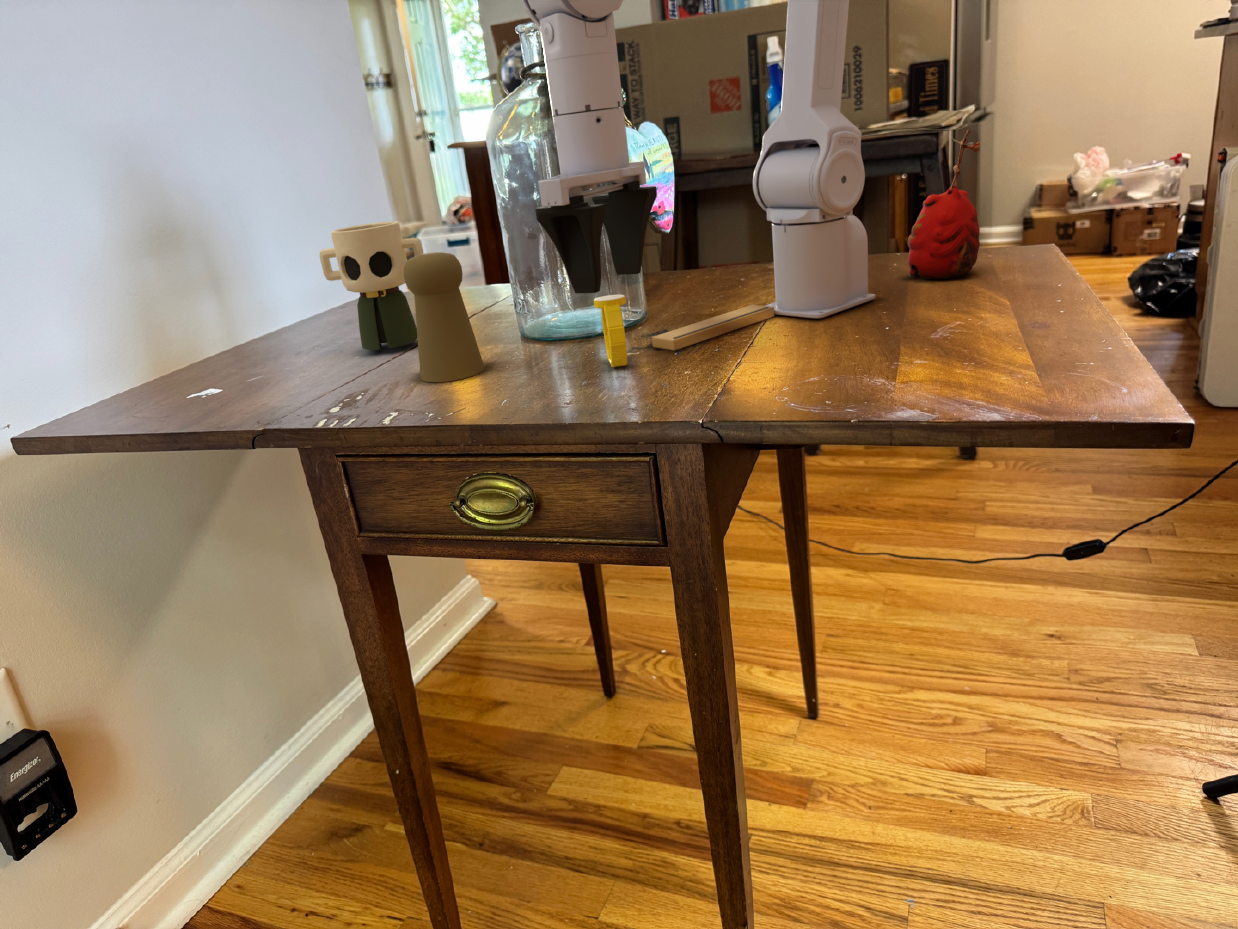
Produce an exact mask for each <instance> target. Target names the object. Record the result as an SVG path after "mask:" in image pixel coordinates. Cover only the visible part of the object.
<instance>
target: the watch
mask: <svg viewBox="0 0 1238 929" xmlns="http://www.w3.org/2000/svg"><path fill="white" fill-rule="evenodd" d="M626 303H627V300H626V295H624V294H608V295H603V296H597V297H595V298H594V299H593V306H594V308H596V309H600V314H601V315H600V316H601V325H602V331H603V335H604V336H603V338H604V345H605V349H606V350H605V351H606V355H607V356H606V357H607V360H608V362H609V364H610V366H611V368H615V367H616V368H617V367H622V366H628V350H627V349H628V348H627V346H628V345H627V338H626V331H625V324H624V318H623V314H622V309H621V306H624V305H626Z"/></svg>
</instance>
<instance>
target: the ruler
mask: <svg viewBox="0 0 1238 929" xmlns="http://www.w3.org/2000/svg"><path fill="white" fill-rule="evenodd" d="M774 317H775V314H774V307H770V306H765V305H759V304H758V305H757V304H749V305H746V306H743V307H741V308H738V309H735V310H732V311H728V312H725V313H722V314H719V315H716V316H713V317H709V318H707V319H703V320H700V321H698V322H695V323H691V324H688V325H684V326H681V327H679V328H676V329H673V330H670V331H666V332H663V333H660V334H658V335H657V334H656V335H654V336H652V337H651V342H652V348H655V349H656V348H657V349H663V350H666V351H667V350H668V351H674V352H675V351H677V350H681V349H683V348H686V347H690V346H691V345H696V344H699V343H701V342H704V341H707V340H710V339H713V338H715V337H719V336H721V335H724V334H728V333H730V332H734V331H736V330H739V329H742V328H745V327H748V326H751V325H753V324H757V323H759V322H762V321H765V320H769V319H771V318H774Z"/></svg>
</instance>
